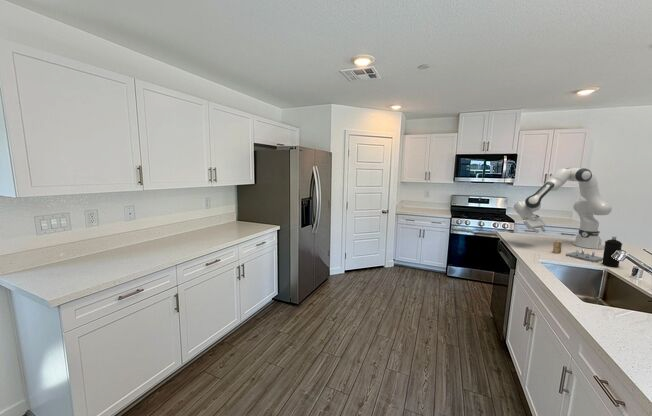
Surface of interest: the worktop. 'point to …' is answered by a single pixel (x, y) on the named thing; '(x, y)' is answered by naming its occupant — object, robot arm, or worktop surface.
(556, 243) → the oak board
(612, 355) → the worktop surface
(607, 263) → the aerosol can
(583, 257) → the peg base
